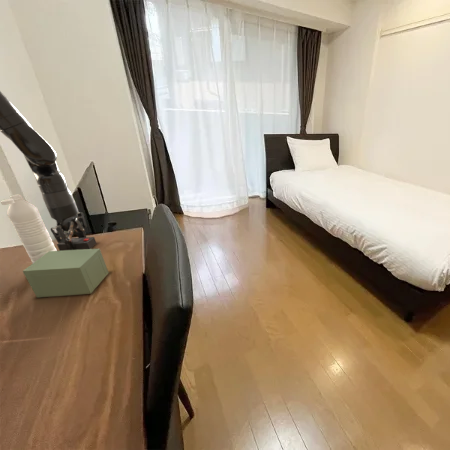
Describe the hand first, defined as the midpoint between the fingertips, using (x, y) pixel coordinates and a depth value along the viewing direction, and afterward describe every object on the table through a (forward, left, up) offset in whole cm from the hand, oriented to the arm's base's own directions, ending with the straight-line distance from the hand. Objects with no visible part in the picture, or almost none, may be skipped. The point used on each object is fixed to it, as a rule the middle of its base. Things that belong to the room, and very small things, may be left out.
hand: (78, 245), depth 99 cm
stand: (+12, -23, -1) cm, 26 cm away
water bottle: (-1, -14, -1) cm, 14 cm away
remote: (0, 0, -1) cm, 1 cm away
